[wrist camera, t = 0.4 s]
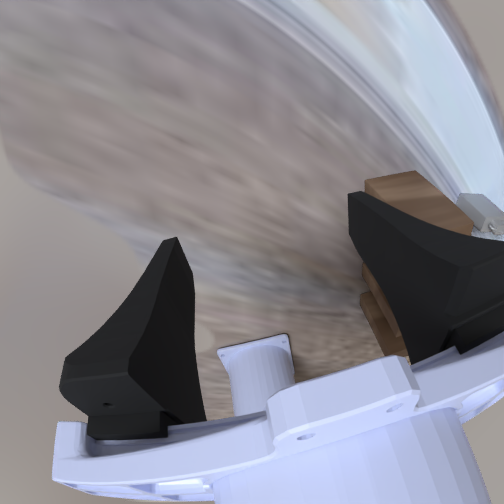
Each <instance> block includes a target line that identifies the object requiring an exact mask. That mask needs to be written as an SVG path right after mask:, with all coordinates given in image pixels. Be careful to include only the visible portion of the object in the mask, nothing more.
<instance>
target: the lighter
mask: <svg viewBox="0 0 504 504" xmlns="http://www.w3.org/2000/svg"><path fill="white" fill-rule="evenodd" d="M456 206H457V207H459V208H460V209H461V210H462V211H463V212H464V213H465V214H466V215H467V216H468V217H469V218H470V219H471V220H472V221H473V222H474V226H475V227H476V228H477V229H478V230H479V231H480V232H492V233H493V234H494V235H501V234H504V212H503V211H501V210H500V209H499V208H498V207H497V206H496V205H495V204H494V203H492V202H491V201H490V200H489V199H488V198H487V197H485V196H484V195H483V194H468V193H461V194H459V197H458V200H457V203H456Z"/></svg>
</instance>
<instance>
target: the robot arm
mask: <svg viewBox="0 0 504 504" xmlns="http://www.w3.org/2000/svg"><path fill="white" fill-rule="evenodd" d="M348 217H349V235H350V237H351V239H352V241H353V243H354V245H355V247H356V249H357V251H358V253H359V255H360V256H361V258H362V259H363V261H364V263H365V264H366V266H367V267H368V269H369V270H370V272H371V274H372V275H373V277H374V278H375V280H376V281H377V283H378V285H379V286H380V288H381V290H382V291H383V293H384V295H385V297H386V299H387V301H388V303H389V306H390V308H391V310H392V312H393V314H394V317H395V319H396V322H397V324H398V327H399V329H400V332H401V335H402V338H403V340H404V343H405V346H406V349H407V352H408V355H409V359H410V362H411V365H410V366H409V364H408V362H407V360H406V358H405V357H401V356H396V355H389V356H385V357H380V358H377V359H374V360H371V361H368V362H365V363H362V364H359V365H356V366H353V367H350V368H347V369H344V370H340V371H337V372H334V373H331V374H327V375H324V376H320V377H317V378H313V379H310V380H306V381H302V382H299V383H295V380H294V376H293V375H294V374H295V372H294V366H293V361H292V356H291V350H290V345H289V339H288V336H287V335H286V334H281V335H277V336H273V337H269V338H265V339H261V340H257V341H252V342H248V343H244V344H239V345H235V346H230V347H225V348H221V349H218V350H217V354H218V356H219V358H220V360H221V361H222V363H223V365H224V367H225V369H226V370H227V372H228V374H229V378H230V386H231V393H232V401H233V408H234V415H235V417H230V418H224V419H218V420H211V421H207V420H206V415H205V410H204V406H203V400H202V395H201V389H200V383H199V376H198V370H197V362H196V354H195V340H194V328H195V289H194V280H193V273H192V270H191V268H190V266H189V263H188V261H187V259H186V257H185V254H184V252H183V250H182V247H181V245H180V243H179V240H178V238H177V237H174V238H170V239H167V240H163V242H162V243H161V245H160V246H159V248H158V250H157V251H156V253H155V255H154V257H153V258H152V260H151V262H150V263H149V265H148V267H147V268H146V270H145V272H144V273H143V275H142V276H141V278H140V279H139V281H138V282H137V284H136V285H135V287H134V288H133V290H132V291H131V293H130V294H129V295H128V297H127V298H126V299H125V301H124V302H123V303H122V304H121V306H120V307H119V308H118V309H117V310H116V312H115V313H114V314H113V315H112V316H111V317H110V318H109V319H108V320H107V321H106V322H105V324H104V325H103V326H102V327H101V328H100V329H99V330H98V331H97V332H95V333H94V334H93V335H92V336H91V337H90V338H89V339H88V340H87V341H85V342H84V343H83V344H82V345H81V346H79V347H78V348H77V349H76V350H74V351H73V352H72V353H70V354H69V355H68V356H67V357H66V358H65V361H64V366H63V370H62V375H61V379H60V385H59V389H60V392H61V394H62V395H63V397H64V398H65V399H66V400H67V401H69V402H70V403H71V404H72V405H74V406H75V407H77V408H78V409H79V410H81V411H82V412H83V413H85V414H86V415H88V424H87V423H84V422H79V421H59V422H58V424H57V431H56V439H55V447H54V458H53V469H52V479H53V481H56V482H59V483H61V484H64V485H66V486H69V487H72V488H74V489H77V490H80V491H83V492H86V493H89V494H92V495H98V496H107V497H116V498H127V499H140V500H156V501H214V502H215V504H491V500H490V498H489V495H488V492H487V489H486V486H485V483H484V480H483V477H482V475H481V472H480V469H479V467H478V464H477V462H476V459H475V456H474V454H473V451H472V449H471V447H470V444H469V442H468V439H467V437H466V435H465V432H464V430H463V428H462V424H464V423H465V422H467V421H468V420H470V419H472V418H473V417H475V416H476V415H478V414H479V413H481V412H482V411H484V410H485V409H487V408H488V407H490V406H491V405H492V404H494V403H495V402H497V401H498V400H500V399H501V398H502V397H504V241H498V240H491V239H484V238H478V237H474V236H469V235H465V234H461V233H457V232H454V231H451V230H447V229H444V228H441V227H438V226H436V225H433V224H430V223H428V222H425V221H423V220H420V219H418V218H416V217H414V216H411V215H409V214H407V213H405V212H403V211H401V210H399V209H397V208H395V207H393V206H391V205H389V204H387V203H385V202H383V201H381V200H379V199H377V198H375V197H373V196H371V195H369V194H367V193H365V192H362V191H358V192H354V193H349V194H348Z"/></svg>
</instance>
